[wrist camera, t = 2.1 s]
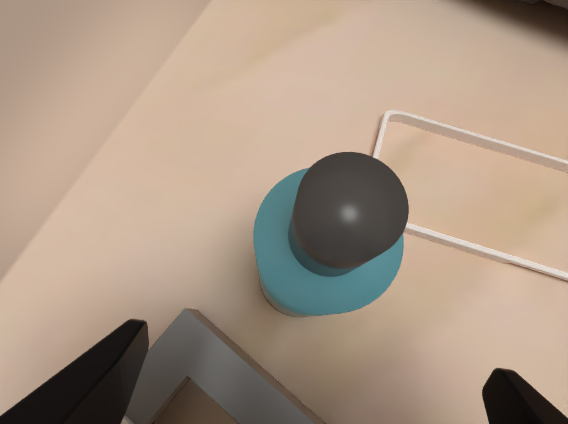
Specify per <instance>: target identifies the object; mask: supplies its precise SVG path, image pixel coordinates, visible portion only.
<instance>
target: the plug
mask: <svg viewBox="0 0 568 424" xmlns="http://www.w3.org/2000/svg"><path fill="white" fill-rule="evenodd" d="M408 213H409V207H408V199H407V195H406V192H405V189H404V187H403V185H402V183H401V181H400V180H399V178H398V177H397V176H396V174H395V173H394V172H393V171H392V170H391V169H390V168H389V167H388V166H386V165H385V164H384V163H382V162H381V161H379V160H378V159H376V158H373V157H371V156H368V155H366V154H361V153H356V152H341V153H336V154H332V155H329V156H326V157H324V158H322V159H321V160H319V161H317V162H316V163H315V164H313V165H312V166H311V167H310V168H307V169H303V170H300V171H297V172H295V173H293V174H291V175H289V176H287V177H286V178H284V179H283V180H281V181H280V182H279V183H277V184H276V185H275V186H274V187H273V188H272V189H271V191H270V192H269V193H268V194H267V196H266V197H265V199H264V200H263V202H262V204H261V206H260V208H259V211H258V213H257V216H256V220H255V225H254V248H255V254H256V260H257V266H258V272H259V278H260V284H261V288H262V291H263V294H264V296H265V297H266V299H267V300H268V302H269V303H270V304H271V305H272V306H273V307H274V308H275V309H277V310H278V311H280V312H281V313H283V314H286V315H289V316H293V317H308V316H318V315H328V314H339V313H345V312H350V311H353V310H357V309H360V308H362V307H364V306H366V305H368V304H370V303H371V302H373V301H374V300H376V299H377V298H378V297H379V296H380V295H381V294H383V293H384V292H385V291H386V289H387V288H388V287H389V286H390V284H391V283H392V281H393V280H394V278H395V276H396V274H397V272H398V270H399V267H400V264H401V260H402V256H403V248H404V247H403V232H404V229H405V227H406V224H407V220H408Z"/></svg>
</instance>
